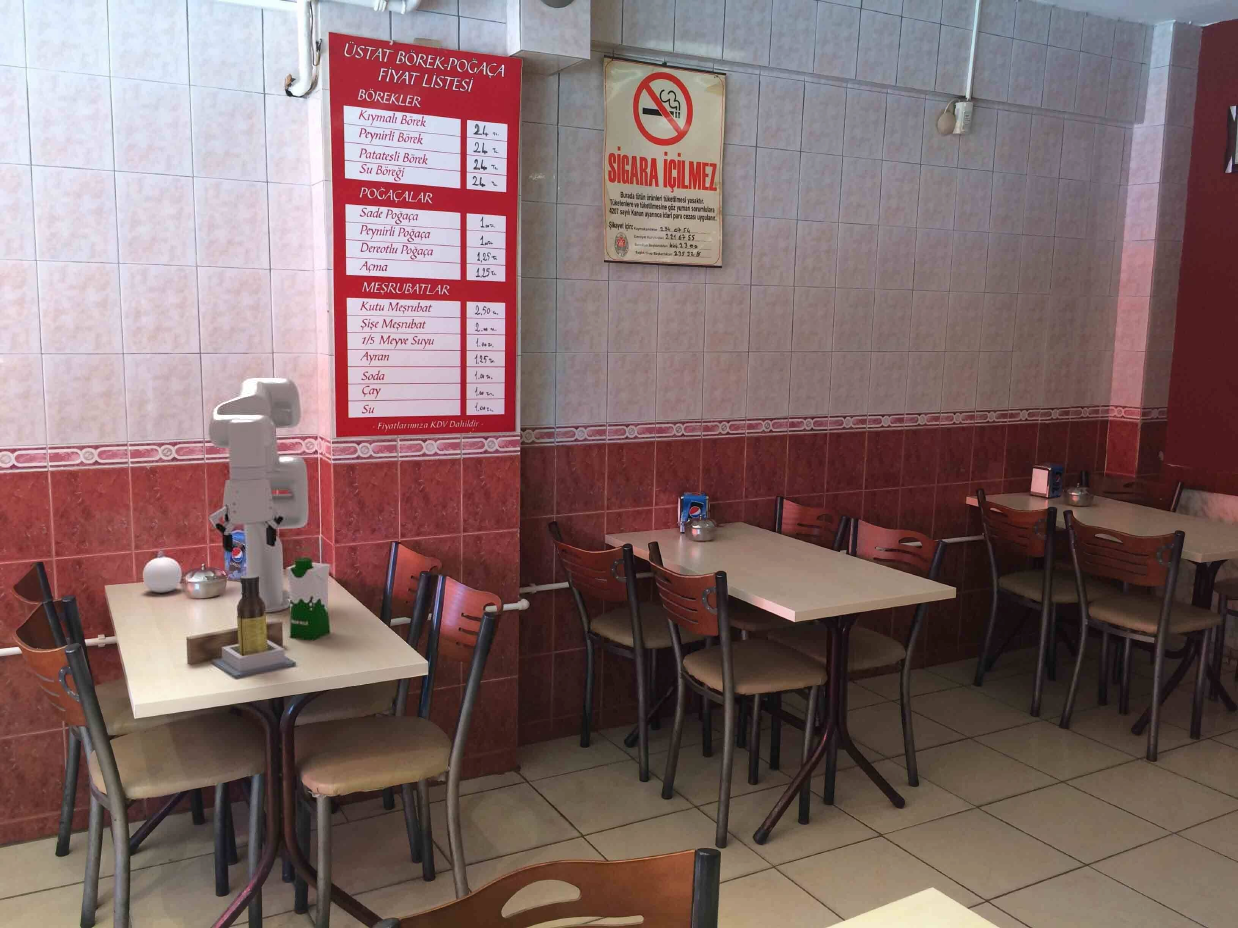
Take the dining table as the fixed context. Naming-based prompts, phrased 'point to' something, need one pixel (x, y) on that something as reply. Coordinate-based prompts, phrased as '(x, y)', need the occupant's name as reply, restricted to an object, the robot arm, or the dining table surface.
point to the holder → (252, 661)
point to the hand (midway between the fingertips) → (250, 548)
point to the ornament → (162, 574)
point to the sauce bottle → (251, 618)
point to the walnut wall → (224, 642)
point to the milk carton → (308, 599)
